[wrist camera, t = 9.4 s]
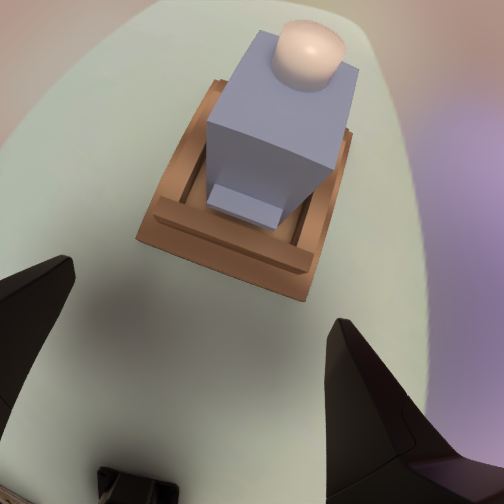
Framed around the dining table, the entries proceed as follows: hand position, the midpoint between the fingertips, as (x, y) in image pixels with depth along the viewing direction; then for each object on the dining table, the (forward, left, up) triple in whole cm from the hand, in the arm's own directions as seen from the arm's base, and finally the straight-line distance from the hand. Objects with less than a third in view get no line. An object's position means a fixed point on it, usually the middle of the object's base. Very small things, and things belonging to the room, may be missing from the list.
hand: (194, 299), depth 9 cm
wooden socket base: (+9, -2, -11) cm, 14 cm away
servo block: (+9, -2, -10) cm, 14 cm away
